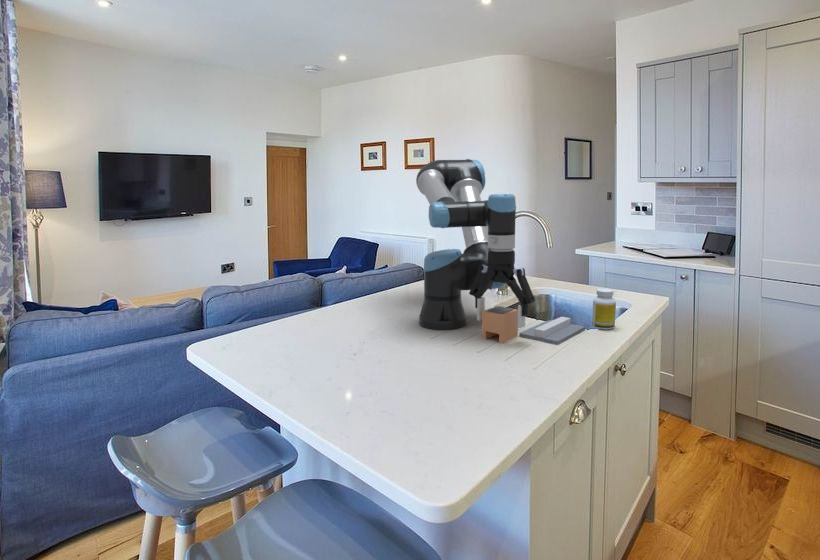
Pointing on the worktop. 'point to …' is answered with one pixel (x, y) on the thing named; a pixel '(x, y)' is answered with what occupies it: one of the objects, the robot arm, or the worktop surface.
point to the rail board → (555, 335)
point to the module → (500, 323)
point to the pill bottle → (604, 310)
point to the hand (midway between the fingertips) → (500, 323)
